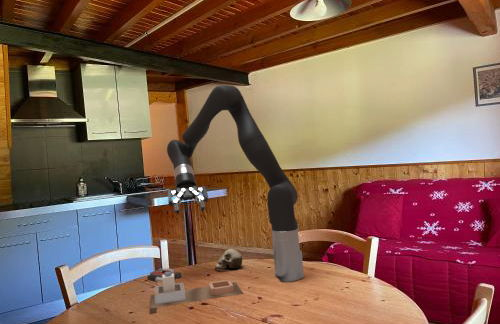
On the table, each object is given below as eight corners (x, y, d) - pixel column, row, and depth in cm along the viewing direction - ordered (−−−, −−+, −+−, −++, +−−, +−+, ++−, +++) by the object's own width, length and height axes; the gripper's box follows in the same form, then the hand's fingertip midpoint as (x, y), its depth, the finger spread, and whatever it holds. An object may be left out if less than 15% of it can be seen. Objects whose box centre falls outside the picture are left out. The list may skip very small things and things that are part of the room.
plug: (175, 295, 120) (173, 270, 120) (175, 299, 116) (173, 273, 116) (163, 297, 119) (162, 271, 119) (164, 301, 115) (162, 274, 115)
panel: (236, 286, 128) (236, 282, 128) (243, 298, 117) (243, 293, 117) (151, 299, 122) (150, 294, 122) (150, 313, 110) (149, 308, 110)
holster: (230, 285, 125) (229, 279, 125) (234, 292, 118) (233, 285, 118) (209, 288, 124) (208, 282, 124) (211, 295, 117) (211, 289, 117)
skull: (209, 270, 146) (213, 247, 153) (218, 282, 154) (222, 259, 160) (238, 270, 143) (241, 245, 149) (246, 282, 150) (249, 258, 157)
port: (183, 291, 123) (183, 281, 123) (185, 300, 114) (184, 290, 114) (155, 295, 121) (154, 285, 121) (155, 305, 112) (154, 294, 112)
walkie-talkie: (142, 282, 143) (178, 290, 131) (141, 270, 143) (178, 277, 131) (161, 275, 150) (197, 282, 138) (160, 264, 150) (196, 270, 138)
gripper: (165, 173, 140) (169, 207, 129) (203, 169, 144) (210, 202, 133) (166, 187, 146) (170, 220, 134) (203, 183, 149) (210, 215, 138)
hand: (190, 211), depth 134 cm, fingers open, 8 cm apart
